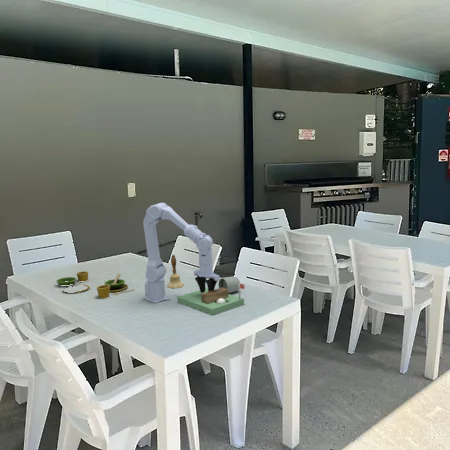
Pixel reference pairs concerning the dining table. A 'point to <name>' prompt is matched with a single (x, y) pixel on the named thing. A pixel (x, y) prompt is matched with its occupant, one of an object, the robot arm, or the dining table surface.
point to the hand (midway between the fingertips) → (207, 293)
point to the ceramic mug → (229, 284)
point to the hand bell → (174, 276)
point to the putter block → (214, 295)
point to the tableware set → (102, 290)
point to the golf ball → (221, 301)
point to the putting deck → (213, 307)
